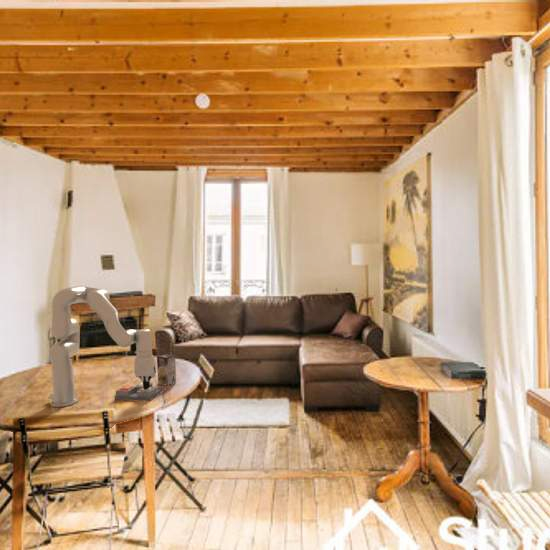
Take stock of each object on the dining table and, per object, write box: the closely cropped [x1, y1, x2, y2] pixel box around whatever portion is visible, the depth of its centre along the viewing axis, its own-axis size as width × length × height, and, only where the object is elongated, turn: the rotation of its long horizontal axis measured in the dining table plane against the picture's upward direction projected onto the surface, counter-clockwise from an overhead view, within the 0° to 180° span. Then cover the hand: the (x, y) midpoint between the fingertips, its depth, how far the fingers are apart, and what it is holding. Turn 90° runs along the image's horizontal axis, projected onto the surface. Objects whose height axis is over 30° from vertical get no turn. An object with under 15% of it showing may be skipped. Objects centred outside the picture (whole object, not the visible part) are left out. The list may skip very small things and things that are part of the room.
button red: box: [120, 385, 131, 391], centre depth 207 cm, size 5×5×2 cm
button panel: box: [114, 382, 165, 402], centre depth 210 cm, size 20×15×4 cm
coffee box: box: [156, 353, 177, 386], centre depth 228 cm, size 9×6×16 cm
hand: (146, 388), depth 205 cm, fingers closed
